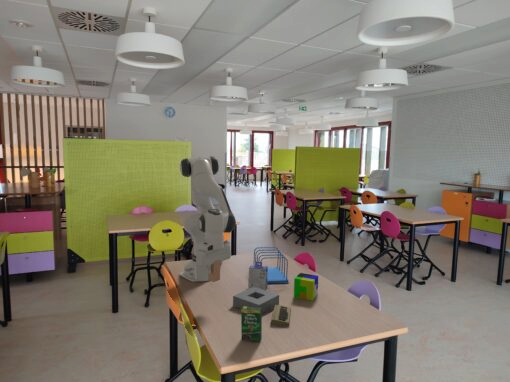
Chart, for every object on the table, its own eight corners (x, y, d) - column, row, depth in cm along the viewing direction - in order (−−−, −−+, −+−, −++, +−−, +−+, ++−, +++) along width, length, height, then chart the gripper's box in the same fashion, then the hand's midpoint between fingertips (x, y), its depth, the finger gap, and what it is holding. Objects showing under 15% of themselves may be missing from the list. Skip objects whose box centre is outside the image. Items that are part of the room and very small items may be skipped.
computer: (289, 327, 153) (289, 320, 153) (270, 326, 154) (270, 318, 154) (291, 311, 169) (291, 305, 169) (274, 310, 170) (274, 303, 170)
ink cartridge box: (267, 287, 198) (268, 262, 197) (266, 291, 193) (266, 265, 191) (250, 285, 200) (250, 260, 199) (248, 289, 195) (248, 263, 193)
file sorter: (288, 283, 206) (289, 257, 204) (258, 284, 203) (259, 258, 201) (278, 269, 230) (279, 246, 229) (252, 270, 227) (252, 246, 226)
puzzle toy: (317, 293, 191) (318, 275, 190) (312, 300, 181) (313, 281, 180) (299, 290, 195) (300, 272, 194) (293, 297, 186) (294, 278, 185)
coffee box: (240, 340, 141) (240, 308, 140) (242, 336, 144) (242, 305, 143) (260, 343, 139) (260, 310, 138) (261, 339, 142) (262, 307, 141)
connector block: (208, 280, 172) (208, 259, 171) (214, 277, 175) (214, 258, 174) (214, 282, 169) (214, 261, 168) (219, 279, 172) (220, 259, 171)
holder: (232, 305, 173) (233, 295, 173) (253, 296, 186) (253, 286, 185) (258, 315, 163) (259, 304, 163) (278, 304, 176) (279, 294, 175)
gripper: (224, 238, 180) (224, 265, 182) (194, 246, 164) (193, 275, 166) (234, 240, 176) (233, 267, 178) (203, 248, 160) (203, 278, 162)
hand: (214, 271), depth 171 cm, fingers closed on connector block, 4 cm apart
